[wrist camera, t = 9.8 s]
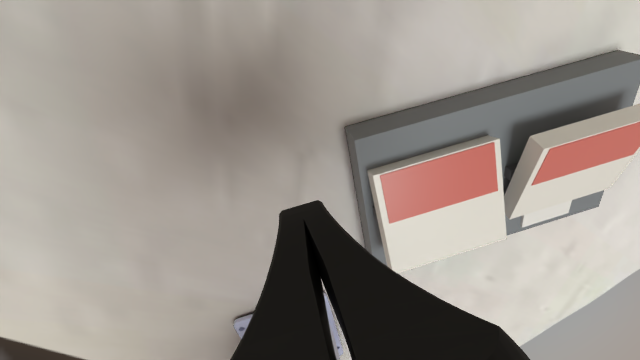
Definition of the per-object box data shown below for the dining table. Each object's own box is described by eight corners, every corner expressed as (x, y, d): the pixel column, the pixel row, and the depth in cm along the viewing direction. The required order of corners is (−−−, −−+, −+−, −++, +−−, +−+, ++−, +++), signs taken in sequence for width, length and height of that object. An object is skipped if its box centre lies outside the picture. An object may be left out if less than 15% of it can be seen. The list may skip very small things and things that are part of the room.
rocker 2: (596, 176, 26) (610, 188, 25) (499, 206, 25) (510, 220, 25) (651, 100, 21) (670, 112, 20) (529, 136, 20) (544, 150, 19)
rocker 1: (495, 230, 24) (507, 239, 23) (386, 264, 23) (393, 275, 22) (487, 135, 22) (500, 138, 21) (366, 170, 21) (373, 176, 20)
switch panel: (578, 192, 30) (605, 210, 27) (367, 258, 28) (378, 282, 26) (618, 50, 23) (658, 59, 21) (344, 126, 21) (357, 145, 19)
